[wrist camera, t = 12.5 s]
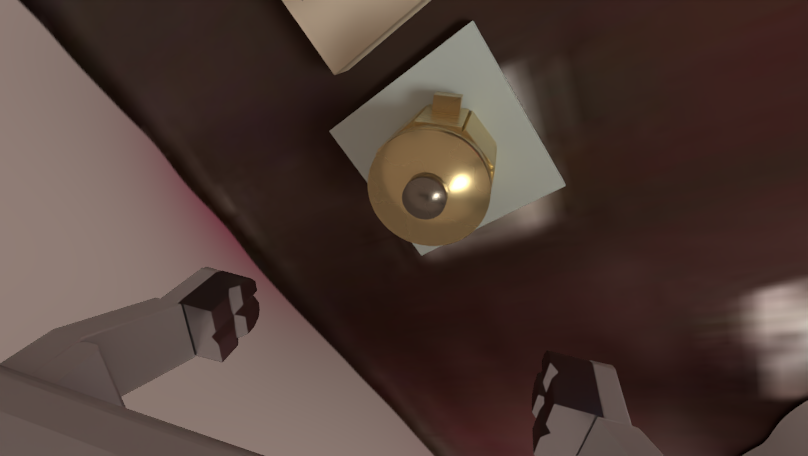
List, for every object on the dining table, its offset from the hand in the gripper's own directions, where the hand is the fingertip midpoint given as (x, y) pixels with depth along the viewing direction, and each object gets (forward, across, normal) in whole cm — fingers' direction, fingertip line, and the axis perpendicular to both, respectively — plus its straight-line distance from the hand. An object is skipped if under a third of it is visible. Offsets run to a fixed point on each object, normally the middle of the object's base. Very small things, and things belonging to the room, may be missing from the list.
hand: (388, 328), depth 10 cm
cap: (+14, +1, 0) cm, 14 cm away
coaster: (+14, +1, 0) cm, 14 cm away
